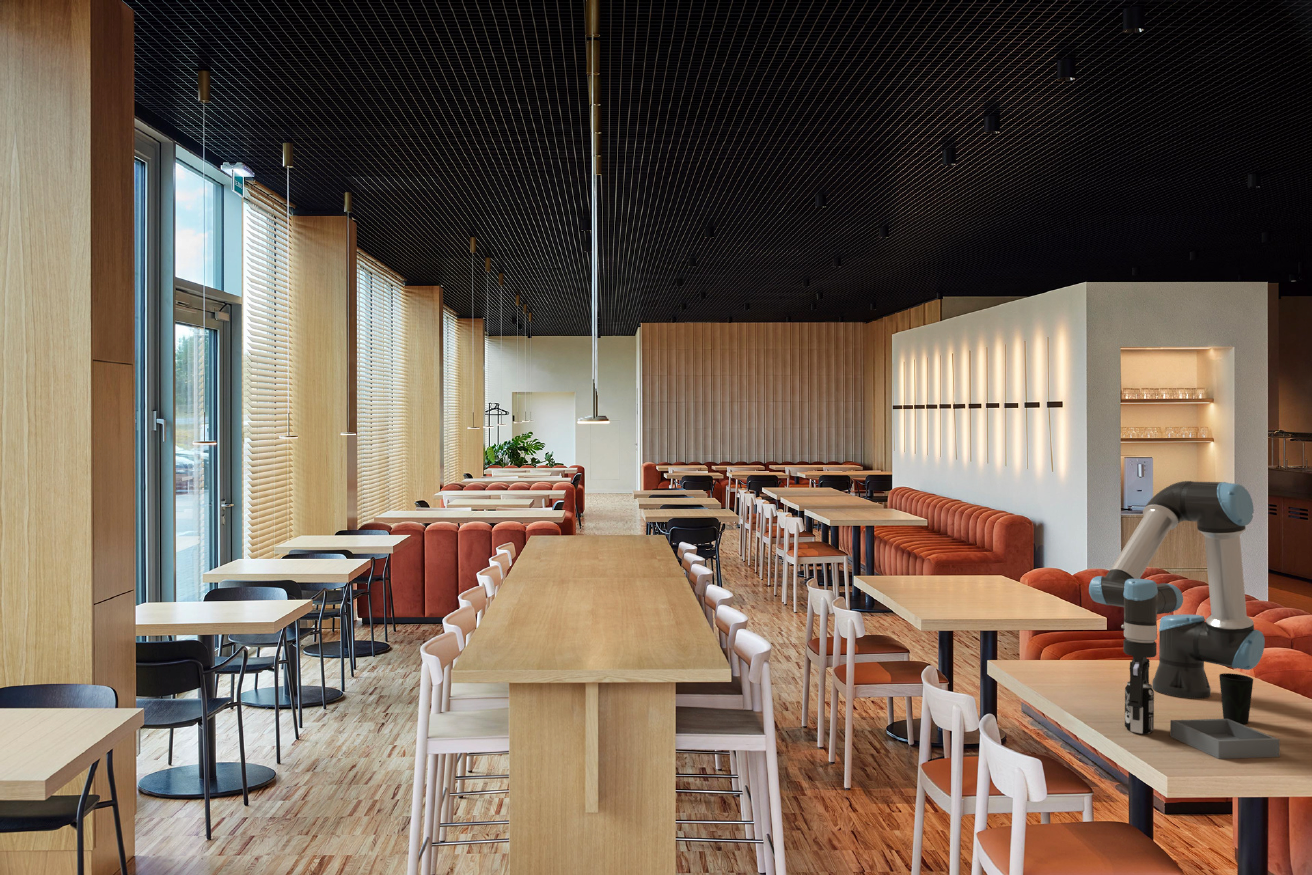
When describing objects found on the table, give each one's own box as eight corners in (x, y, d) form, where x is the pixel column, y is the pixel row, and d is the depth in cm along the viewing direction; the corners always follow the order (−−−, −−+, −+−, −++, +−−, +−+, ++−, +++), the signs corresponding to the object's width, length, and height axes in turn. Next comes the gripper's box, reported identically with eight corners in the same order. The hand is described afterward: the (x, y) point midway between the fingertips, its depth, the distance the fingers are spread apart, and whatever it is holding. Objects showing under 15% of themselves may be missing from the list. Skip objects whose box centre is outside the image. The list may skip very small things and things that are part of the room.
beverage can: (1119, 726, 230) (1119, 680, 231) (1143, 726, 231) (1143, 680, 231) (1134, 734, 224) (1135, 687, 224) (1159, 734, 224) (1159, 687, 225)
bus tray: (1227, 734, 225) (1227, 718, 225) (1279, 756, 209) (1279, 739, 209) (1170, 736, 223) (1170, 720, 223) (1218, 758, 207) (1218, 741, 207)
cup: (1242, 727, 231) (1242, 681, 231) (1212, 719, 238) (1213, 674, 238) (1259, 723, 235) (1259, 678, 235) (1229, 715, 242) (1229, 671, 242)
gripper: (1130, 631, 238) (1129, 716, 237) (1116, 643, 222) (1115, 734, 222) (1162, 635, 233) (1161, 722, 233) (1150, 648, 218) (1149, 741, 217)
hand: (1139, 728), depth 227 cm, fingers closed on beverage can, 7 cm apart
